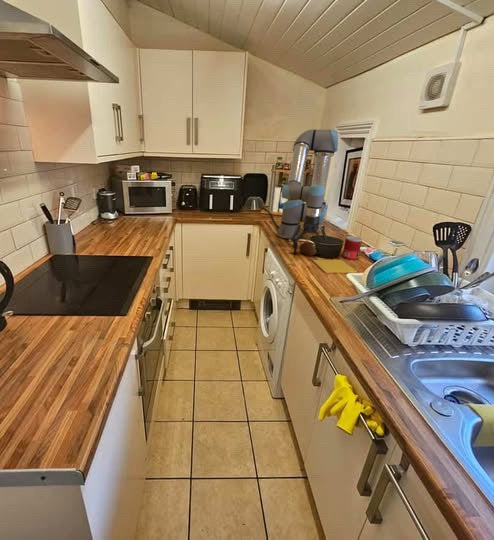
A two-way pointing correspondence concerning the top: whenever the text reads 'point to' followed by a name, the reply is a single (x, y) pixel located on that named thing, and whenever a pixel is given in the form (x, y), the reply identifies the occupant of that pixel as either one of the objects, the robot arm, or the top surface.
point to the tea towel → (334, 266)
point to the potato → (307, 249)
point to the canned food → (352, 247)
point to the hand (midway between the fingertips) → (306, 254)
